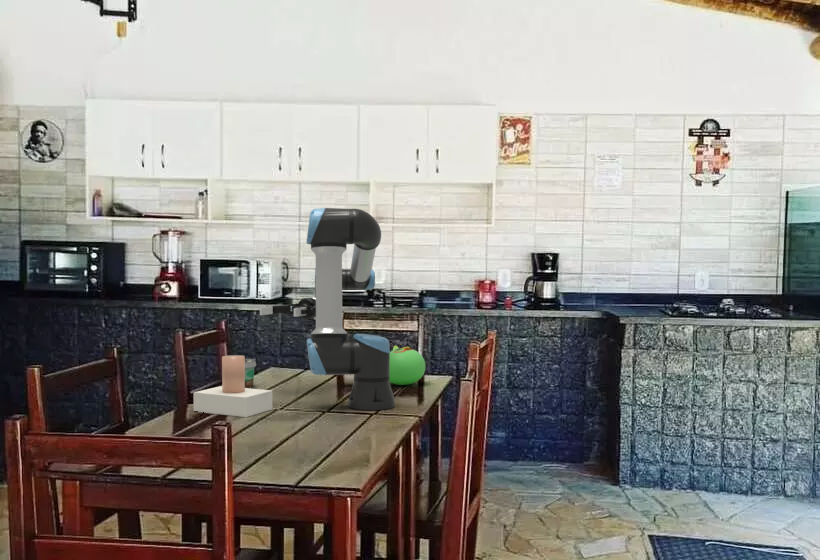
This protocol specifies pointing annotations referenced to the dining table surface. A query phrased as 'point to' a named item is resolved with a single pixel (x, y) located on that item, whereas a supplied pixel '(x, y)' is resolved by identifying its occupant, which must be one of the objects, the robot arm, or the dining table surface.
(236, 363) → the terracotta canister
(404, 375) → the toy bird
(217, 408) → the cream riser
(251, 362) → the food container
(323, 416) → the dining table surface
